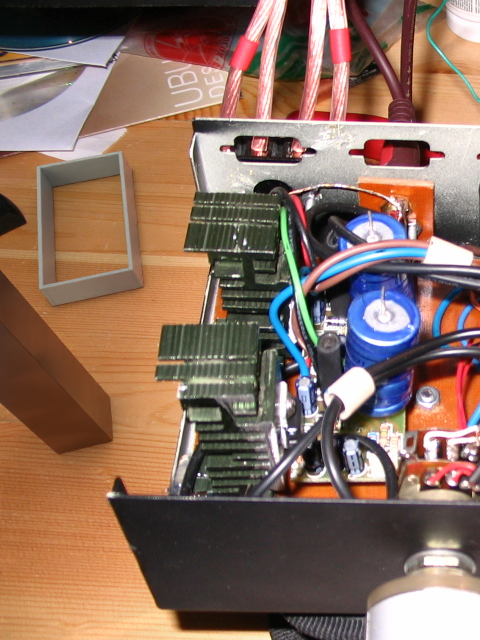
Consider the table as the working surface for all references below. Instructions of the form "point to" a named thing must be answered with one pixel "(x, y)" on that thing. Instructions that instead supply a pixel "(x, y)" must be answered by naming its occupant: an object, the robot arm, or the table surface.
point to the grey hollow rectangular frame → (46, 244)
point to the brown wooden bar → (47, 380)
